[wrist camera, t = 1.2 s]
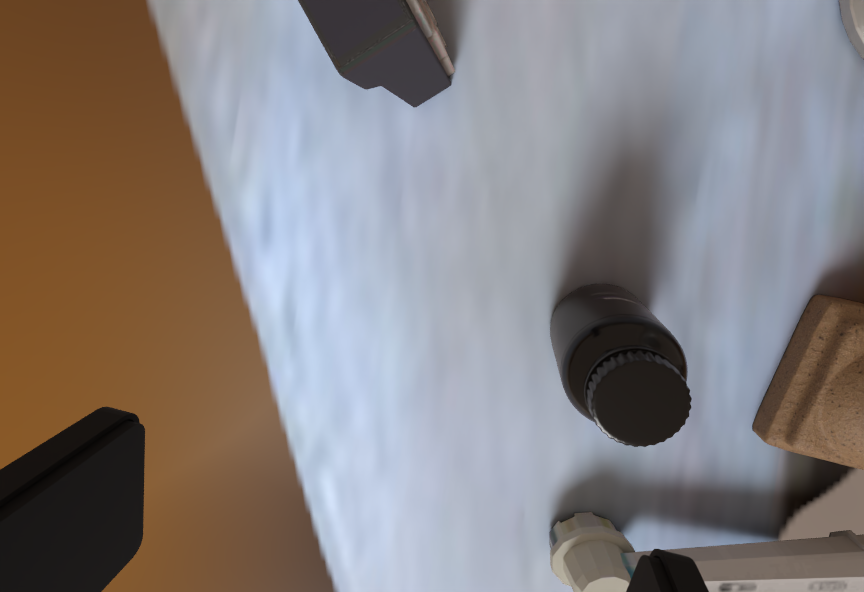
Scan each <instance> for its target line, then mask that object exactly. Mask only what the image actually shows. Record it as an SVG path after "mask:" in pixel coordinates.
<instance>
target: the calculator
mask: <svg viewBox="0 0 864 592" xmlns="http://www.w3.org/2000/svg"><path fill="white" fill-rule="evenodd" d="M298 1H299V3H300V5H301V7H302V8H303V10H304V12H305V14H306V16H307V17H308V19H309V21H310V23H311V25H312V26H313V28H314V30H315V32H316V34H317V35H318V37H319V39H320V41H321V43H322V44H323V46H324V48H325V50H326V52H327V53H328V55H329V57H330V59H331V61H332V62H333V64H334V66H335V68H336V69H337V71H338V72H339V74H340V75H341V76H342V77H344V78H345V79H347V80H349V81H351V82H353V83H354V84H356V85H358V86H360V87H362V88H364V89H370V88H374V87H378V86H382V87H384V88H385V89H387V90H389V91H390V92H392V93H393V94H395V95H396V96H398V97H399V98H401V99H402V100H404V101H405V102H407V103H408V104H410V105H411V106H413V107H417V106H419V105H420V104H422V103H424V102H425V101H427V100H428V99H430V98H432V97H433V96H435V95H437V94H438V93H440V92H441V91H443V90H444V89H446V88H448V87H449V86H451V81H450V79H449V77H448V76H450V75H451V74H453V73H454V72H455V69H454V67H453V65H452V62H451V60H450V58H449V56H448V54H447V51H446V49H445V48H446V47H447V45H446V43H445V41H444V39H443V37H442V35H441V33H440V31H439V29H438V27H437V25H436V24H437V21H436V19H435V17H434V15H433V13H432V11H431V9H430V7H429V5H428V3H427V1H426V0H298Z"/></svg>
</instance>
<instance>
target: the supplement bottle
mask: <svg viewBox="0 0 864 592" xmlns="http://www.w3.org/2000/svg"><path fill="white" fill-rule="evenodd" d="M550 336H551V342H552V346H553V350H554V354H555V358H556V362H557V366H558V370H559V373H560V377H561V381H562V385H563V388H564V390H565V393H566V395H567V397H568V399H569V400H570V402H571V403H572V405H573V406H574V407H575V408H576V409H577V410H578V411H579V412H580V413H581V414H582V415H584V416H585V417H586V418H588V419H589V420H591V421H593V422H595V423H596V425H597V426H598V427H600V429H601V431H602V432H603V433H605V434H607V436H608V437H609V438H611V439H614V440H615V441H616V442H619V443H623V444H625V445H632V446H634V447H638V446H643V447H646V446H648V445H655V444H657V443H659V442H664V441H665V440H666V439H667V438H671V437H672V436H673V435H674V434H675V433H676V432H678V431H679V430H680V428H681V427H682V426H683V425H684V424H685V421H686V419H687V418H688V417H689V410H690V409H691V405H690V402H691V396H690V395H689V393H690V389H689V388H688V386H687V384H686V381H687V362H686V358H685V354H684V352H683V349H682V348H681V346H680V344H679V343H678V341H677V340H676V338H675V337H674V336H673V335H672V334H671V332H670V331H669V330H668V329H667V328H666V327H665V326H664V325H663V324H662V323H661V322H660V321H659V320H658V319H657V318H656V317H655V316H654V315H653V314H652V313H651V312H650V311H649V310H648V309H647V308H646V307H645V306H644V305H643V304H642V303H641V302H640V301H639V300H638V299H637V298H636V297H635V296H634V295H632V294H631V293H630V292H628V291H626V290H625V289H622V288H620V287H618V286H614V285H609V284H592V285H587V286H584V287H581V288H579V289H577V290H575V291H573V292H571V293H570V294H569V295H567V296H566V297H565V298H564V299H563V300H562V301H561V302H560V303H559V305H558V306H557V308H556V310H555V312H554V314H553V316H552V320H551V325H550Z"/></svg>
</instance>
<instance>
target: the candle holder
mask: <svg viewBox="0 0 864 592" xmlns="http://www.w3.org/2000/svg"><path fill="white" fill-rule="evenodd" d="M753 431H754V432H755V433H756V434H757V435H758V436H759V437H760V438H761V439H762V440H763V441H764V442H765V443H767V444H769V445H772V446H775V447H778V448H781V449H784V450H787V451H791V452H795V453H799V454H803V455H807V456H811V457H815V458H819V459H823V460H827V461H831V462H835V463H838V464H842V465H846V466H850V467H854V468H858V469H862V470H864V303H860V302H855V301H851V300H847V299H842V298H837V297H831V296H826V295H815V296H814V297H813V298H812V299H811V300H810V301H809V303H808V305H807V307H806V309H805V311H804V313H803V315H802V317H801V318H800V321H799V323H798V325H797V327H796V329H795V332H794V334H793V336H792V338H791V340H790V342H789V345H788V347H787V349H786V351H785V353H784V355H783V358H782V360H781V362H780V364H779V366H778V368H777V371H776V373H775V375H774V377H773V379H772V381H771V384H770V386H769V388H768V390H767V392H766V395H765V397H764V399H763V401H762V403H761V405H760V408H759V410H758V413H757V415H756V418H755V420H754V423H753Z"/></svg>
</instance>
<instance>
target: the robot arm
mask: <svg viewBox="0 0 864 592" xmlns="http://www.w3.org/2000/svg"><path fill="white" fill-rule="evenodd" d="M839 3H840V9H841V15H842V22H843V24H844V27H845V30H846V32H847V35H848V37H849V40H850V42H851V43H852V45H853V46H854V48H855V49H856V50H857V52H858V53H859V55H860V56H861V58H863V59H864V0H839ZM144 449H145V428H144V426H143V425H142V424H140V423H139V418H138V417H137V415H135V414H133V413H129V412H126V411H122V410H118V409H114V408H110V407H102V408H100V409H97V410H96V411H94V412H92V413H91V414H89V415H88V416H86V417H84V418H83V419H81V420H80V421H78V422H76V423H75V424H73V425H71V426H70V427H68V428H67V429H65V430H63V431H62V432H60V433H59V434H57V435H55V436H54V437H52V438H50V439H49V440H47V441H46V442H44V443H42V444H41V445H39V446H38V447H36V448H34V449H33V450H32V451H30V452H28V453H26V454H25V455H23V456H22V457H20V458H19V459H17V460H15V461H14V462H12V463H10V464H9V465H7V466H5V467H4V468H2V469H1V470H0V592H101V591H102V590H103V589H104V588H105V587H106V586H107V585H108V584H109V583H110V582H111V580H112V579H113V578H114V577H115V576H116V575H117V574H118V573H119V572H120V571H121V570H122V569H123V568H124V566H125V565H126V564H127V563H128V562H129V561H130V560H131V559H132V558H133V556H134V555H135V554H136V552H137V551H138V549H139V547H140V545H141V541H142V537H143V506H144V505H143V504H144V454H145V453H144V452H145V451H144ZM626 592H709V591H708V589H707V586H706V584H705V582H704V580H703V578H702V576H701V574H700V572H699V570H698V567H697V565H696V564H695V562H694V561H693V559H691V558H690V557H687V556H684V555H680V554H676V553H672V552H668V551H664V550H660V549H654V550H653V551H652V552H651V554H650V556H648V555H642V556H641V557H640V559H639V561H638V563H637V566H636V568H635V571H634V573H633V576H632V578H631V581H630V583H629V586H628V588H627V591H626Z"/></svg>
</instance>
